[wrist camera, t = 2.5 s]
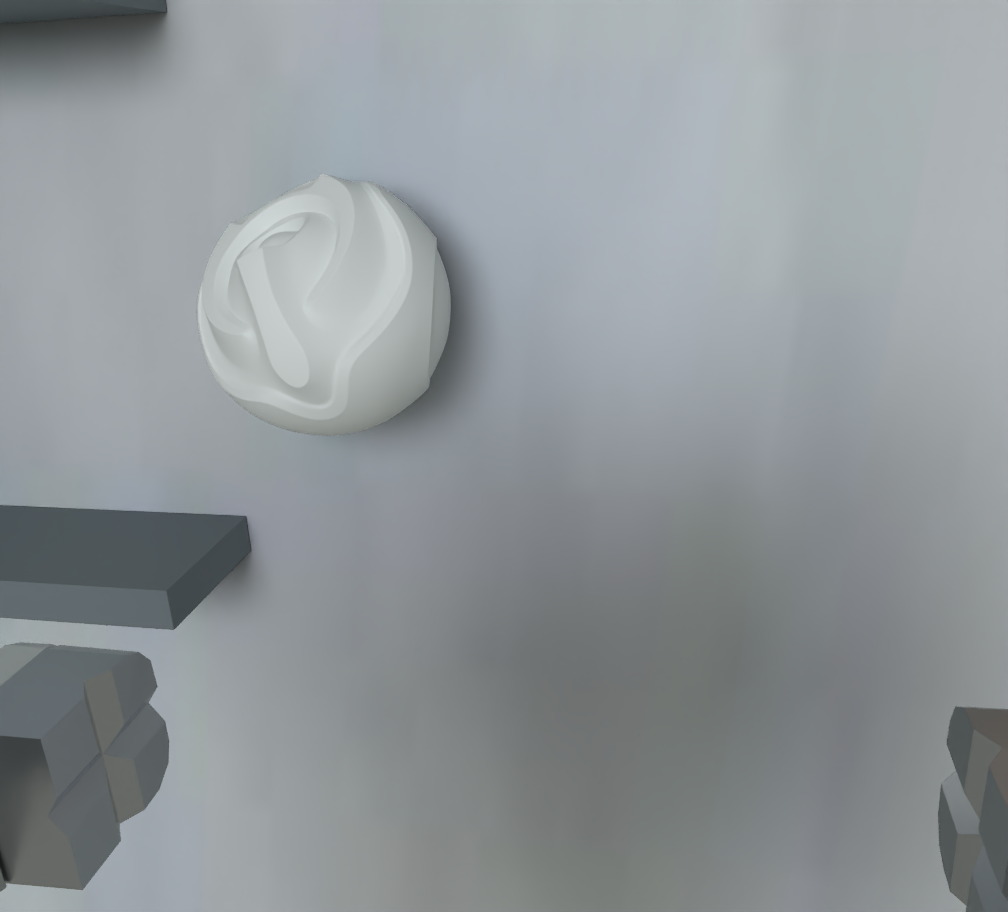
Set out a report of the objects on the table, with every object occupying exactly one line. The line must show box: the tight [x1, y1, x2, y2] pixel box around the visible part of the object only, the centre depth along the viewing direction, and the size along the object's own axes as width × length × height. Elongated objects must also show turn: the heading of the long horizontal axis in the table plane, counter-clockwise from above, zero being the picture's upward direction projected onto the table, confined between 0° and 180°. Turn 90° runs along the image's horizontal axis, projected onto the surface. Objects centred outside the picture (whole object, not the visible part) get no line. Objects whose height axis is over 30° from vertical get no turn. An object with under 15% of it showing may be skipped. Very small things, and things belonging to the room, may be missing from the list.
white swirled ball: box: [197, 174, 451, 436], centre depth 29 cm, size 8×8×8 cm
